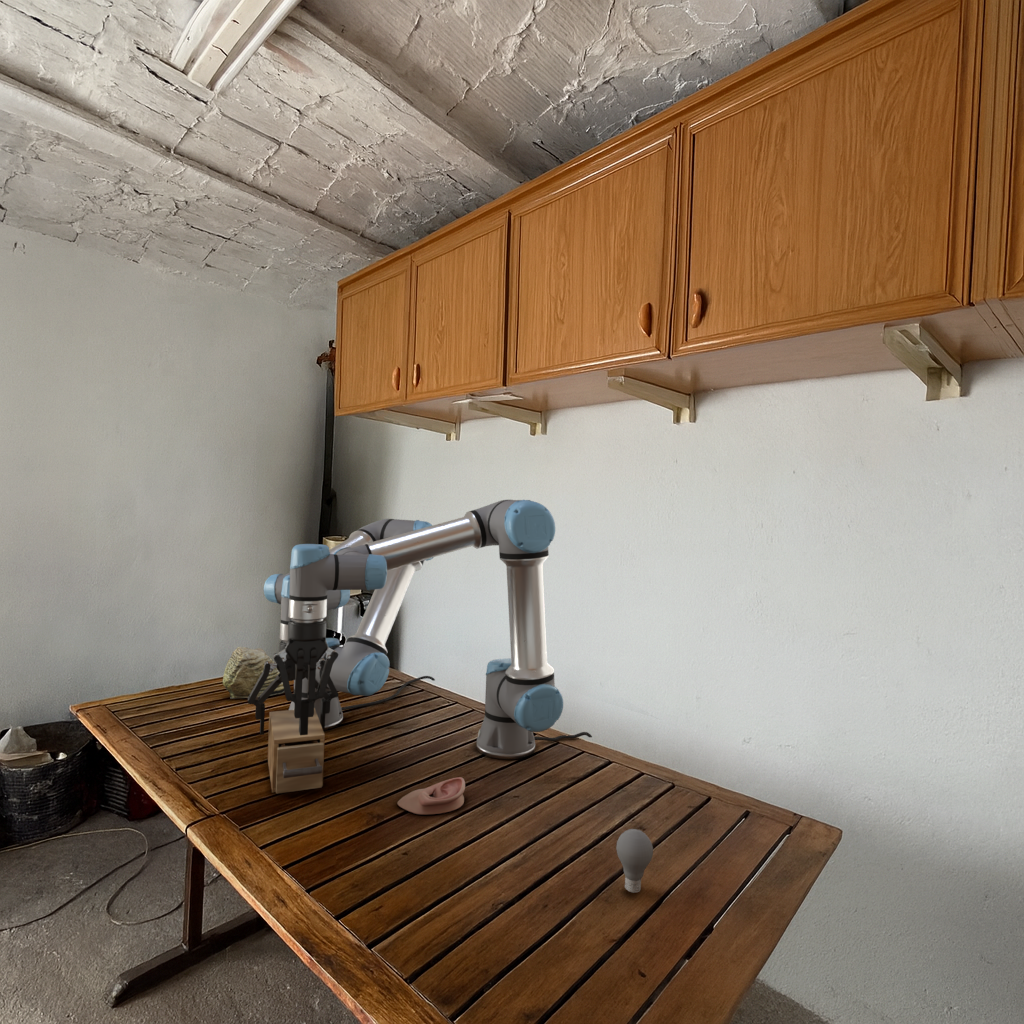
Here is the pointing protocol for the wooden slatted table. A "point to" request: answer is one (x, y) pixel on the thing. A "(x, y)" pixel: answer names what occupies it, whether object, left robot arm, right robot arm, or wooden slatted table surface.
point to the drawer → (299, 766)
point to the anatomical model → (435, 798)
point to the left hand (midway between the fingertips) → (292, 729)
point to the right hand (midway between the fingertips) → (303, 732)
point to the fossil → (248, 672)
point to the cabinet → (289, 736)
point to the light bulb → (634, 857)
